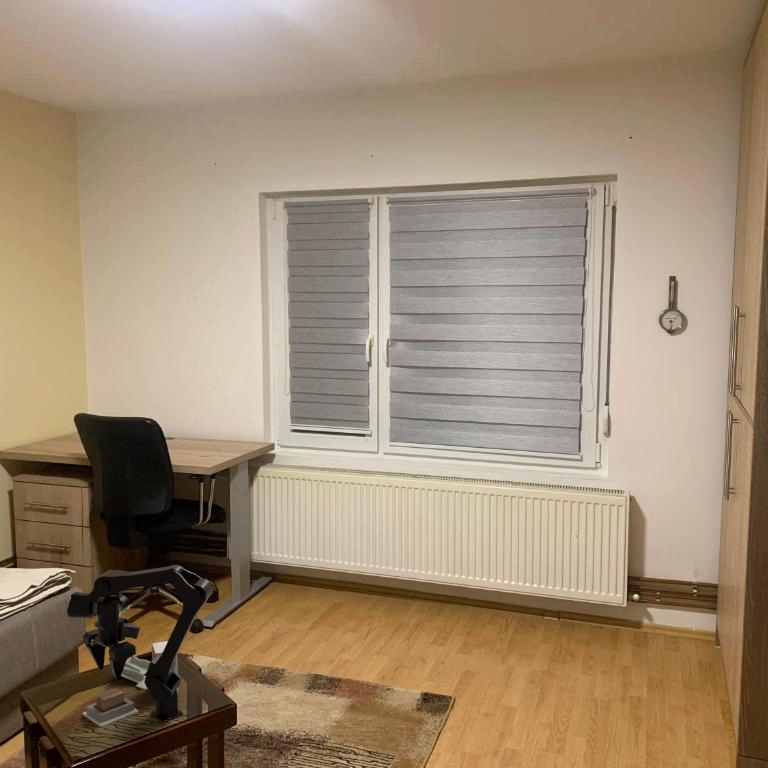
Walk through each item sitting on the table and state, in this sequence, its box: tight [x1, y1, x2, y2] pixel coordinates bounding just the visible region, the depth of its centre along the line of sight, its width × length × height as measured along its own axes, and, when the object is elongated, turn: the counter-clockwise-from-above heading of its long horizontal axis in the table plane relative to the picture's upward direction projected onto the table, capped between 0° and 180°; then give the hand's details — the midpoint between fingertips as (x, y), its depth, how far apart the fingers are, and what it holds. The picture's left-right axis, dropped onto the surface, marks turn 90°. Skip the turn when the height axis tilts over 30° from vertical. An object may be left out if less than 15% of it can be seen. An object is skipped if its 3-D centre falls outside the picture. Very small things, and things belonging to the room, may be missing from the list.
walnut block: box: [95, 688, 125, 713], centre depth 214 cm, size 4×6×5 cm, turn 138°
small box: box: [151, 640, 179, 694], centre depth 228 cm, size 8×6×13 cm
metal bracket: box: [112, 655, 151, 691], centre depth 237 cm, size 14×6×15 cm
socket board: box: [82, 696, 139, 728], centre depth 214 cm, size 10×11×2 cm
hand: (109, 674), depth 214 cm, fingers open, 9 cm apart
